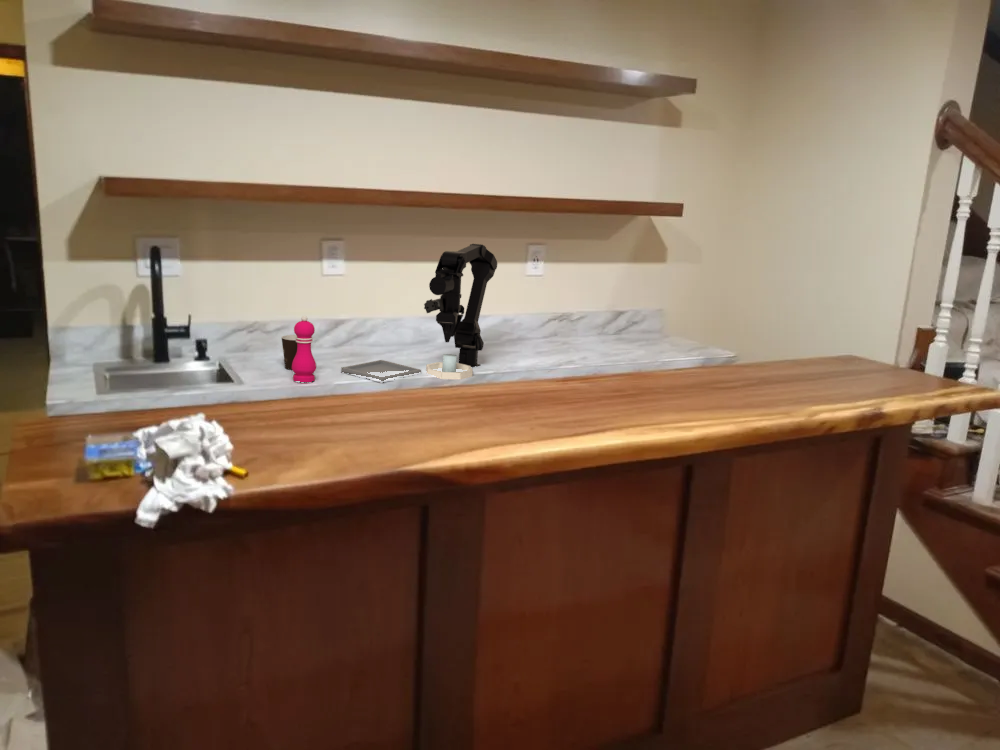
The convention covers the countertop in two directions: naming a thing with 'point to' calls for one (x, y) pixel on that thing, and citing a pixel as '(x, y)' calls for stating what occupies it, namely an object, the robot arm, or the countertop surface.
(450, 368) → the peg
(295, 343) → the coffee mug
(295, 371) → the pepper mill
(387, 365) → the tray
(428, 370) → the bowl
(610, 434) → the countertop surface
